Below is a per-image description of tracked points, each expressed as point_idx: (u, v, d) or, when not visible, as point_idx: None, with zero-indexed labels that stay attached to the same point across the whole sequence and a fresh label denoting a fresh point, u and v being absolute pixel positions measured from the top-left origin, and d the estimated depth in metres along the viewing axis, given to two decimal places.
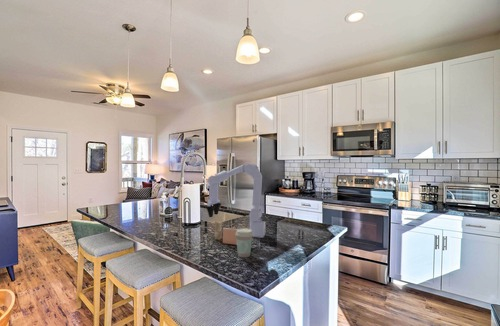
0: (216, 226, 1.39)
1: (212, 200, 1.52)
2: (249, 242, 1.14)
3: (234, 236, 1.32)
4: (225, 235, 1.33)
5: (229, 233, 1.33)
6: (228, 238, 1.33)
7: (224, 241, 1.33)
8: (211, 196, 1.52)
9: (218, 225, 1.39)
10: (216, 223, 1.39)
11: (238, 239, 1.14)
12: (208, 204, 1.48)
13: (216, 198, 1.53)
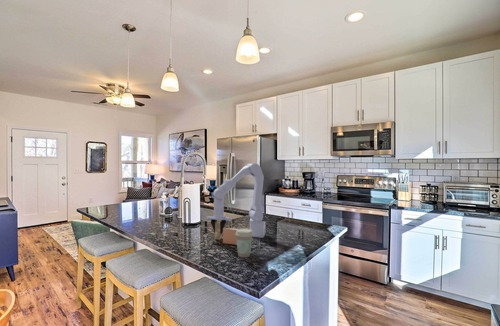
0: (216, 226, 1.39)
1: None
2: (249, 242, 1.14)
3: (234, 236, 1.32)
4: (225, 235, 1.33)
5: (229, 233, 1.33)
6: (228, 238, 1.33)
7: (224, 241, 1.33)
8: None
9: (218, 225, 1.39)
10: (216, 223, 1.39)
11: (238, 239, 1.14)
12: None
13: (215, 214, 1.38)
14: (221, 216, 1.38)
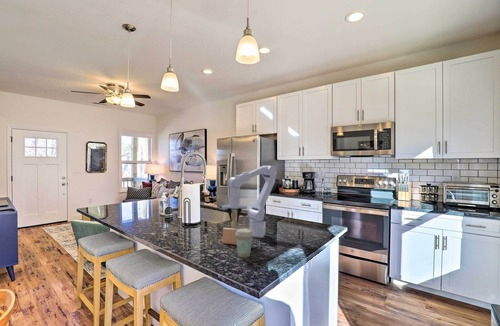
0: (233, 215, 1.38)
1: None
2: (249, 242, 1.14)
3: (234, 236, 1.32)
4: (225, 235, 1.33)
5: (229, 233, 1.33)
6: (228, 238, 1.33)
7: (224, 241, 1.33)
8: None
9: (235, 214, 1.38)
10: (233, 212, 1.38)
11: (238, 239, 1.14)
12: None
13: (232, 202, 1.37)
14: (238, 204, 1.38)
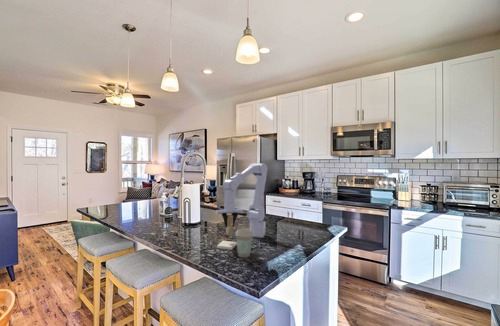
0: (228, 220, 1.30)
1: (224, 208, 1.30)
2: (249, 242, 1.14)
3: None
4: None
5: None
6: None
7: None
8: (224, 203, 1.31)
9: (231, 219, 1.30)
10: (228, 217, 1.30)
11: (238, 239, 1.14)
12: (216, 212, 1.29)
13: (228, 207, 1.29)
14: (234, 208, 1.31)
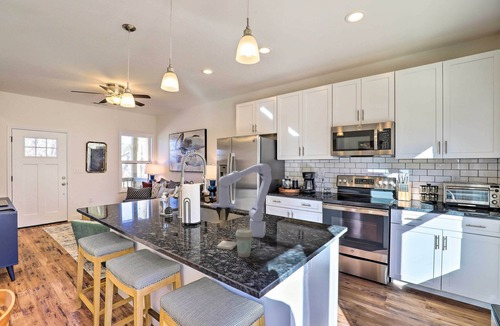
0: (221, 214, 1.40)
1: None
2: (249, 242, 1.14)
3: None
4: None
5: None
6: None
7: None
8: None
9: (223, 213, 1.40)
10: (221, 211, 1.40)
11: (238, 239, 1.14)
12: None
13: (220, 201, 1.39)
14: (226, 203, 1.39)
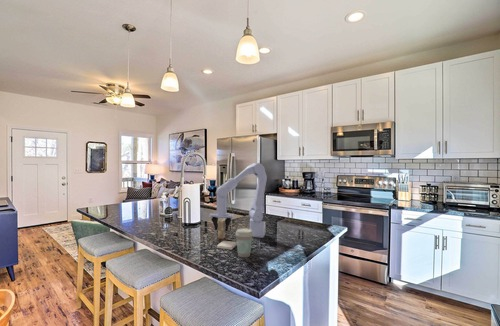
0: (219, 225, 1.41)
1: None
2: (249, 242, 1.14)
3: None
4: None
5: None
6: None
7: None
8: None
9: (221, 224, 1.41)
10: (219, 222, 1.41)
11: (238, 239, 1.14)
12: None
13: (218, 211, 1.40)
14: (224, 214, 1.40)
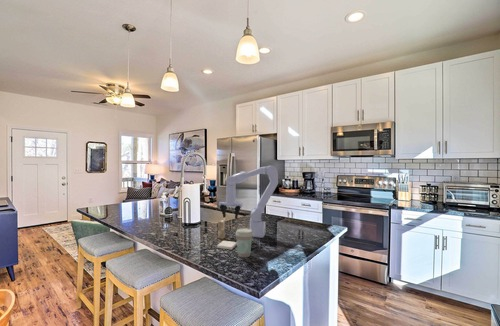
0: (219, 225, 1.41)
1: None
2: (249, 242, 1.14)
3: None
4: None
5: None
6: None
7: None
8: None
9: (221, 224, 1.41)
10: (219, 222, 1.41)
11: (238, 239, 1.14)
12: None
13: (227, 199, 1.46)
14: (233, 202, 1.46)
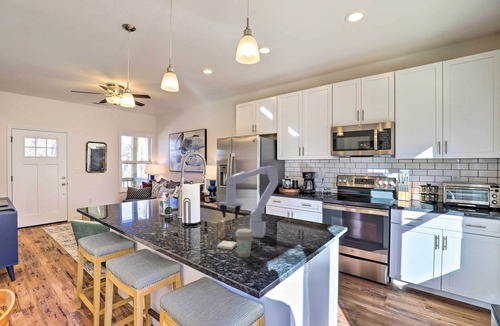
0: (219, 225, 1.41)
1: None
2: (249, 242, 1.14)
3: None
4: None
5: None
6: None
7: None
8: None
9: (221, 224, 1.41)
10: (219, 222, 1.41)
11: (238, 239, 1.14)
12: None
13: (227, 199, 1.46)
14: (233, 202, 1.46)
